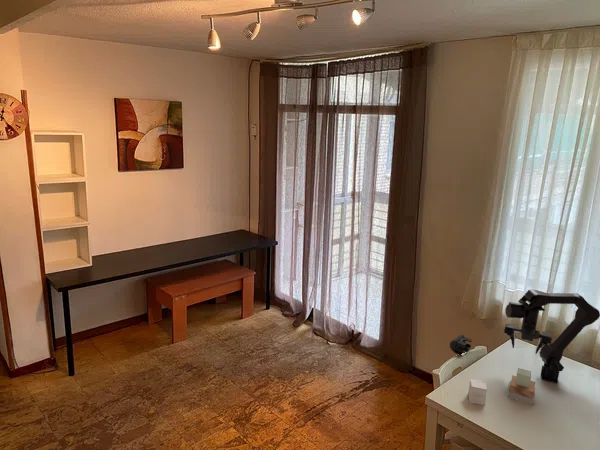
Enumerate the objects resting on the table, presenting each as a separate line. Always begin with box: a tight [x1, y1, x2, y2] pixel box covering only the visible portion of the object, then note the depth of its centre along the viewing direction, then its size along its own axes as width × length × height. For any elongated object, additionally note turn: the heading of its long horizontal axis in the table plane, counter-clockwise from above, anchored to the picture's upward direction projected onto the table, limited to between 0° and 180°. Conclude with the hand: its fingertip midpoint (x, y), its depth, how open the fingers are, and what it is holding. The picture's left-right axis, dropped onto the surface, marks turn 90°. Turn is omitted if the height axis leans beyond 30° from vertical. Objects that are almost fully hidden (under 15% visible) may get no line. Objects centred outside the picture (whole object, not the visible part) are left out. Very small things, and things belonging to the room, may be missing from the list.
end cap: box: [449, 334, 473, 356], centre depth 226 cm, size 10×7×7 cm
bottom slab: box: [507, 380, 536, 405], centre depth 191 cm, size 10×10×3 cm
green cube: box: [515, 367, 532, 387], centre depth 190 cm, size 5×5×5 cm
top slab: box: [508, 374, 536, 399], centre depth 191 cm, size 9×9×3 cm
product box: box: [467, 378, 488, 406], centre depth 186 cm, size 6×6×7 cm
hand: (524, 350), depth 202 cm, fingers open, 9 cm apart
